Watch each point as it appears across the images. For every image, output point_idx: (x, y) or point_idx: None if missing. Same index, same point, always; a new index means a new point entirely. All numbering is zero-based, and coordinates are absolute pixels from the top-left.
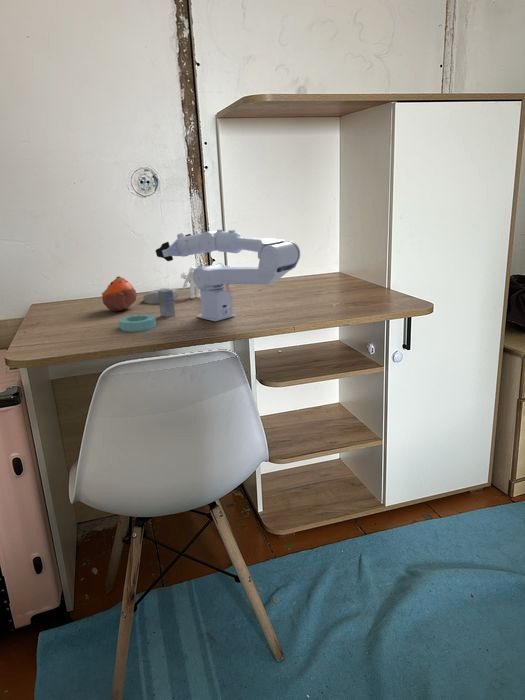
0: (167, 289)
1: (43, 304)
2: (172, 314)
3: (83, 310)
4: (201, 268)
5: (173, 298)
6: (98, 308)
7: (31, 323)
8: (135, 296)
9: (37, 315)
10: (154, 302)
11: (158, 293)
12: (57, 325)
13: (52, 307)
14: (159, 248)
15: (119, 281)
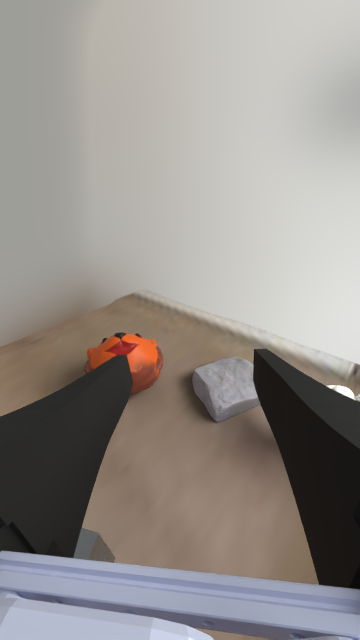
0: (92, 545)
1: (135, 298)
2: None
3: None
4: None
5: (250, 408)
6: None
7: (36, 335)
8: (144, 384)
9: (83, 318)
10: (200, 398)
11: None
12: (13, 368)
13: (125, 309)
14: (67, 388)
15: (109, 347)
